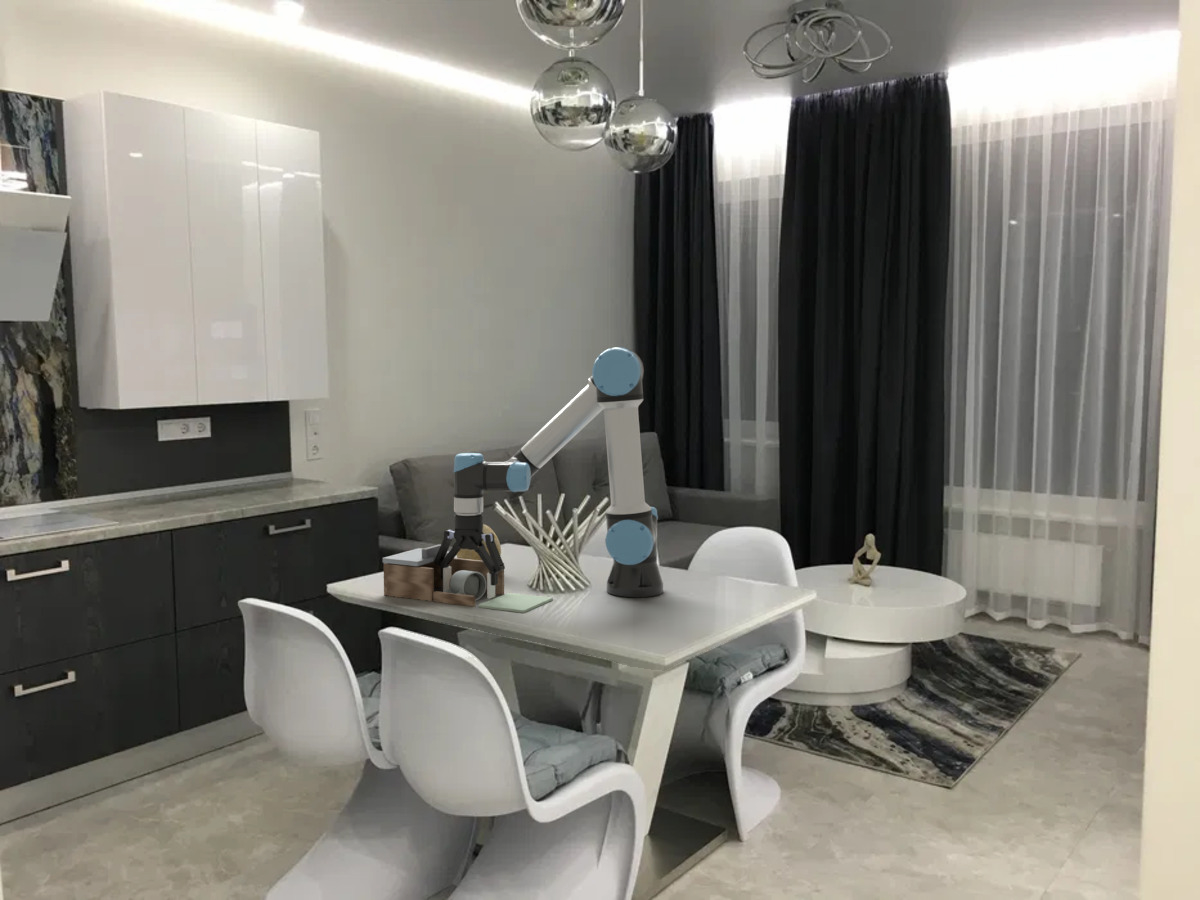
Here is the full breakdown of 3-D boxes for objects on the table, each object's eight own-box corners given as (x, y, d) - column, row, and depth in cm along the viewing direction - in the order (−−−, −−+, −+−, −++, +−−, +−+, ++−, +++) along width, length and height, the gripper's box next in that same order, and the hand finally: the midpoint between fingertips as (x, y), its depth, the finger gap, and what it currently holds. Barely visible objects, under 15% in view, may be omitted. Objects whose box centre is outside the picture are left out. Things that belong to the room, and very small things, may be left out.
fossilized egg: (462, 569, 295) (461, 519, 294) (504, 570, 294) (504, 520, 292) (451, 578, 282) (451, 526, 281) (496, 579, 281) (495, 527, 280)
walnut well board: (504, 594, 263) (504, 562, 262) (473, 606, 250) (473, 573, 249) (417, 584, 275) (417, 554, 274) (384, 595, 261) (383, 563, 261)
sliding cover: (452, 555, 270) (452, 542, 269) (417, 566, 255) (417, 552, 255) (419, 552, 274) (418, 539, 274) (382, 562, 260) (382, 548, 260)
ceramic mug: (469, 593, 264) (469, 565, 264) (487, 598, 259) (486, 570, 258) (437, 599, 258) (436, 571, 257) (454, 605, 252) (453, 576, 251)
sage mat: (552, 600, 257) (552, 597, 257) (523, 612, 243) (523, 610, 243) (509, 594, 262) (509, 592, 262) (478, 607, 249) (478, 604, 249)
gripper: (517, 514, 255) (517, 596, 257) (436, 508, 266) (437, 587, 267) (502, 518, 248) (502, 602, 250) (420, 511, 259) (420, 592, 261)
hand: (469, 594), depth 259 cm, fingers open, 13 cm apart
